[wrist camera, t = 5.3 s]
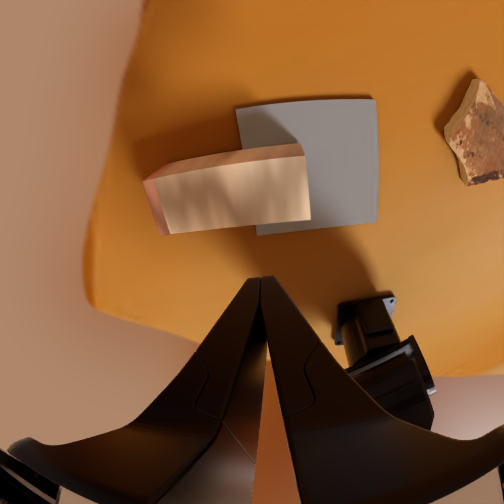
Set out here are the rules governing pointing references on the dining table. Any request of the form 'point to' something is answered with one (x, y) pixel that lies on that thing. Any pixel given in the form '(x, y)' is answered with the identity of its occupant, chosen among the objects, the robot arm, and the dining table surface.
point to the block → (230, 190)
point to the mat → (323, 156)
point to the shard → (478, 135)
